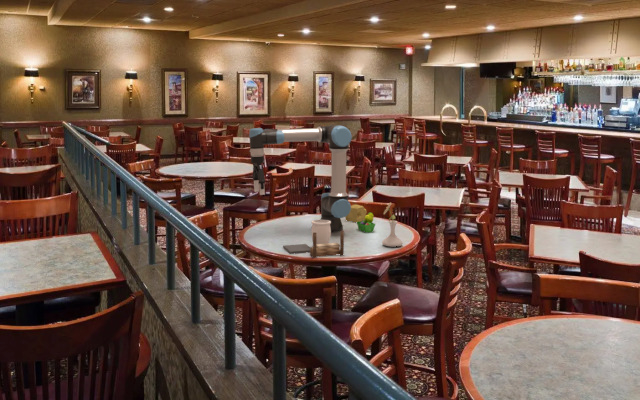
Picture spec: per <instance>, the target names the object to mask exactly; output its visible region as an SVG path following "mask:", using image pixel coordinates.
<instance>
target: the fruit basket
mask: <svg viewBox="0 0 640 400" xmlns="http://www.w3.org/2000/svg"><path fill="white" fill-rule="evenodd" d="M373 221H374V213H373V212H368V213H367V214H366V216H365V221H360V222H357V223H356V225H357V228H358V229H357V230H358V231H360V230H361V231H360V232H363V231H365V232H368V233H373V232H374V229H375V227H376V223H374V222H373ZM372 231H373V232H372ZM365 232H364V233H365Z"/></svg>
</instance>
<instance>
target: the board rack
mask: <svg viewBox="0 0 640 400" xmlns="http://www.w3.org/2000/svg"><path fill="white" fill-rule="evenodd" d="M339 232H340V233H339V236H340V238H339V239H340V243H338V242H329V243H326V244H316V243H317V233H316V232H314V233H313V241H312V246H311V251H310V252H309V255H310V256H311V257H312V256H313V257H312V258H313V259H316V258H317V257H316V256H319V257H327V256H326V255H331V256H337V255H336V254H340V255H339V256H341V255H343V254H345V253H344V252H345V250H344V249H345V246H344V245H345V231H344V230H342V231H339ZM343 256H344V255H343Z"/></svg>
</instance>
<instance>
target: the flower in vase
mask: <svg viewBox="0 0 640 400" xmlns="http://www.w3.org/2000/svg"><path fill="white" fill-rule="evenodd" d="M391 205H392V202H389V203H388V205H387V206H386V208H385V209H384V211H383V215H386V214H387V212H388V211H389V213H390V215H391V216H390V217H389V218H388V223H389V226H390V233H389V235H388V236H386V237H385V238H384V239H383V240H382V242H381V243H382V244H383V246H386V247H389V248H390V247H393V248H395V247H396V246H397V247H400V246H402V245H403V241H402V239H400V237H399V236H397V235H396V230H395V229H396V225H397V223H398V221H397V220H395V219H396V216H395V214H392V211H391V209H390V207H391Z"/></svg>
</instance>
